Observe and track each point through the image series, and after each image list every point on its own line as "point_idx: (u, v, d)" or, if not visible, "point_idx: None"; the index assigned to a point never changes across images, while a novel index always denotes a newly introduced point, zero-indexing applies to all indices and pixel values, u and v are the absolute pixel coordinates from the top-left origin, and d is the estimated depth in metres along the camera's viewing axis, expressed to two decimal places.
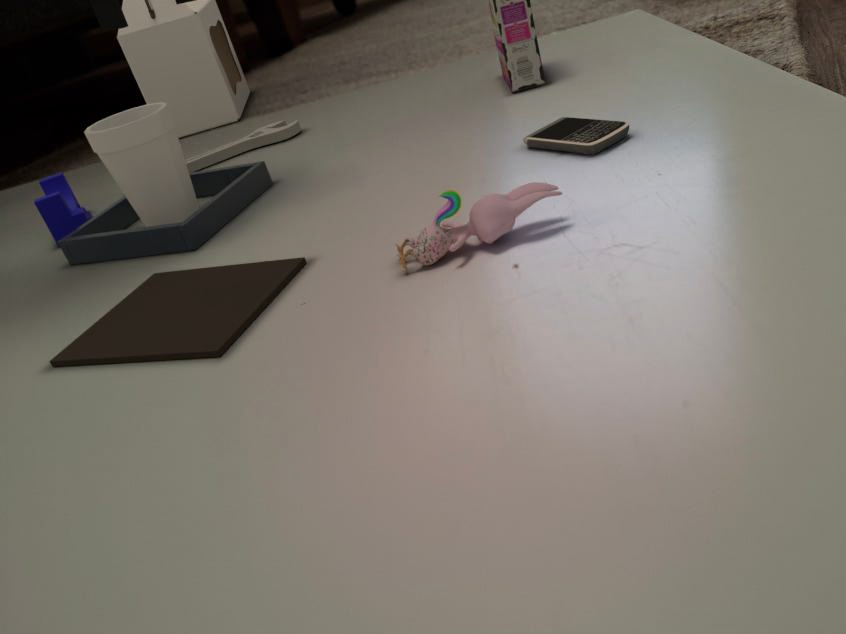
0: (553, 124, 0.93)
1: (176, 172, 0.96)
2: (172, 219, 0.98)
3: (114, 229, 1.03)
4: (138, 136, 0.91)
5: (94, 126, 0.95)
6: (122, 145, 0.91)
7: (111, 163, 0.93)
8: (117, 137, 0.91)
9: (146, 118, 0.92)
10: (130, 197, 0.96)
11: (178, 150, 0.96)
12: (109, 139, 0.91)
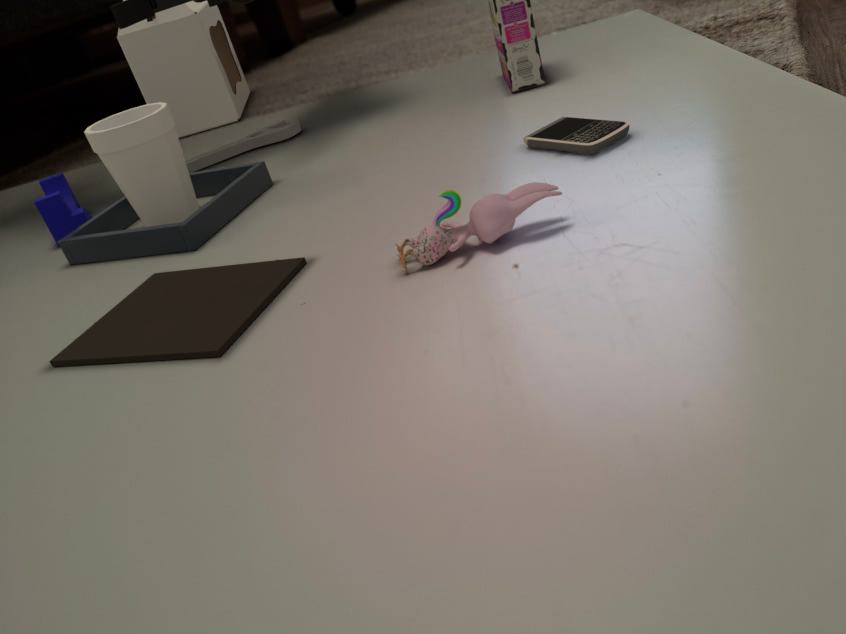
0: (553, 124, 0.92)
1: (176, 172, 0.96)
2: (172, 219, 0.98)
3: (114, 229, 1.03)
4: (138, 136, 0.91)
5: (94, 126, 0.95)
6: (122, 145, 0.91)
7: (111, 163, 0.93)
8: (117, 137, 0.91)
9: (146, 118, 0.91)
10: (130, 197, 0.96)
11: (178, 150, 0.96)
12: (109, 139, 0.91)
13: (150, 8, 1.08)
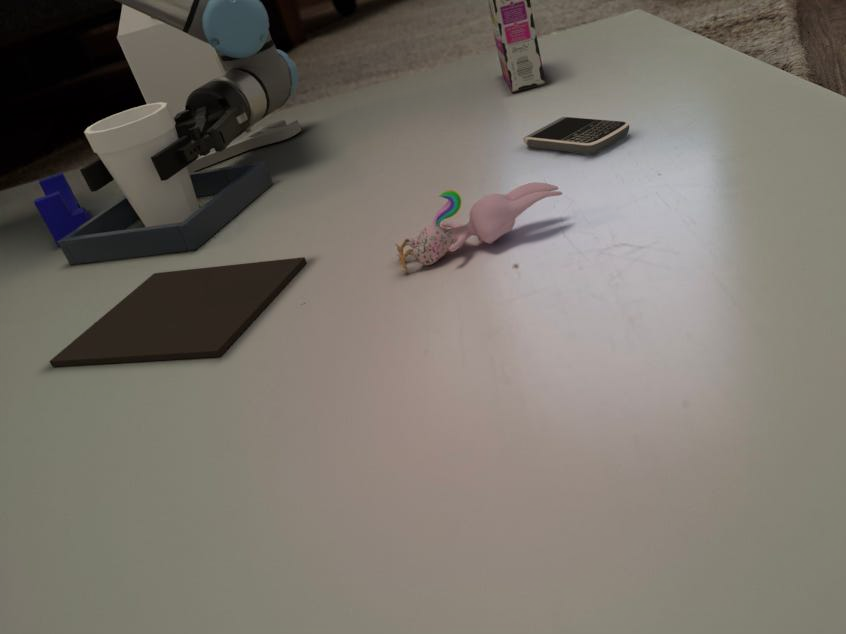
0: (553, 124, 0.92)
1: None
2: (172, 219, 0.98)
3: (114, 229, 1.03)
4: (138, 136, 0.91)
5: (94, 126, 0.95)
6: (122, 145, 0.91)
7: (111, 163, 0.93)
8: (117, 137, 0.91)
9: (146, 118, 0.91)
10: (130, 197, 0.96)
11: None
12: (109, 139, 0.91)
13: None
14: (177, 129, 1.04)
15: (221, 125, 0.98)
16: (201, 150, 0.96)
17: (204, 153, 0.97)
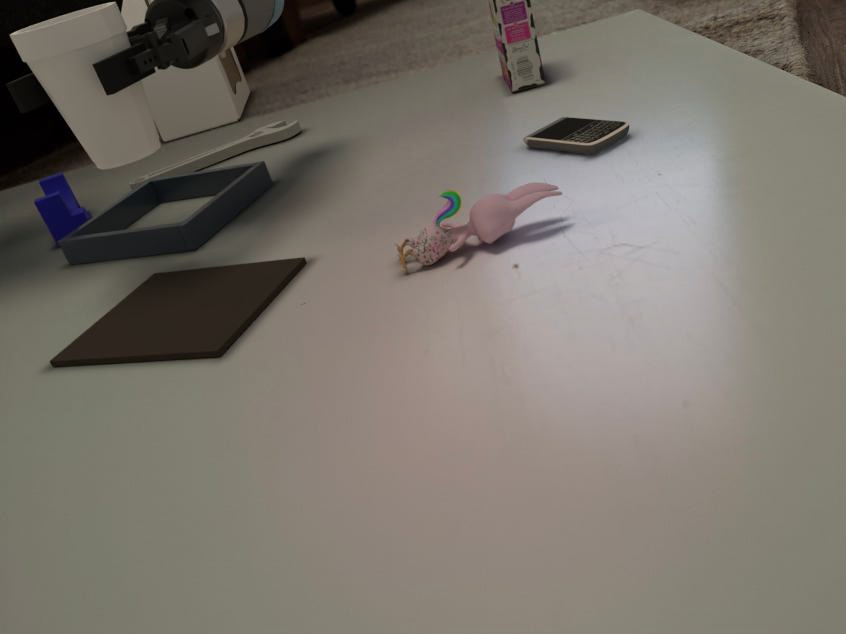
0: (553, 124, 0.93)
1: (127, 88, 0.77)
2: (124, 148, 0.78)
3: (114, 229, 1.03)
4: (77, 37, 0.72)
5: (24, 30, 0.76)
6: (57, 49, 0.72)
7: (44, 74, 0.74)
8: (50, 38, 0.72)
9: (87, 15, 0.72)
10: (70, 120, 0.77)
11: None
12: (40, 41, 0.72)
13: None
14: (133, 44, 0.85)
15: (184, 32, 0.78)
16: (159, 61, 0.77)
17: (163, 66, 0.78)
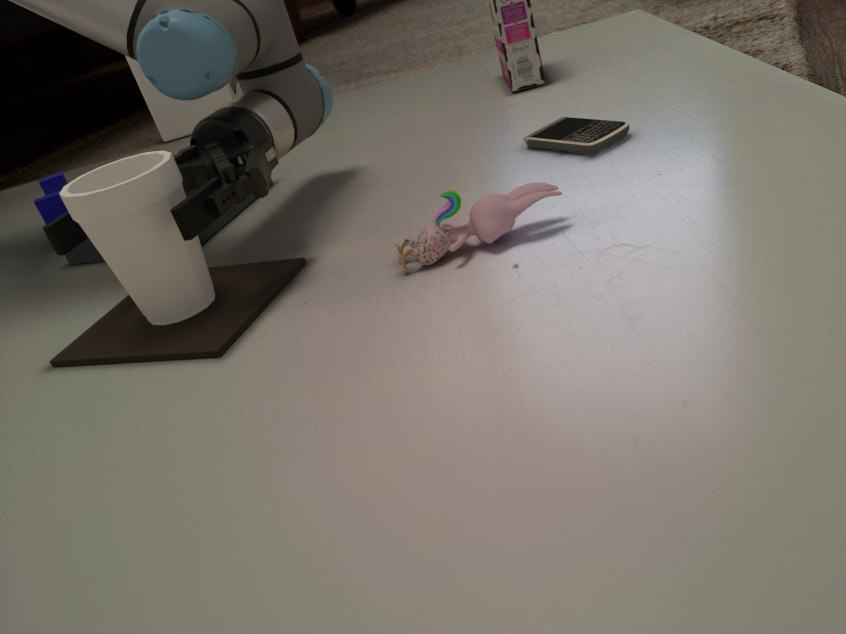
0: (553, 124, 0.93)
1: (183, 245, 0.72)
2: (178, 306, 0.73)
3: None
4: (133, 200, 0.67)
5: (74, 184, 0.71)
6: (111, 213, 0.67)
7: (96, 235, 0.69)
8: (104, 203, 0.67)
9: (143, 176, 0.67)
10: (122, 278, 0.72)
11: None
12: (93, 205, 0.67)
13: None
14: (180, 172, 0.79)
15: (259, 163, 0.73)
16: (237, 197, 0.72)
17: (242, 200, 0.73)
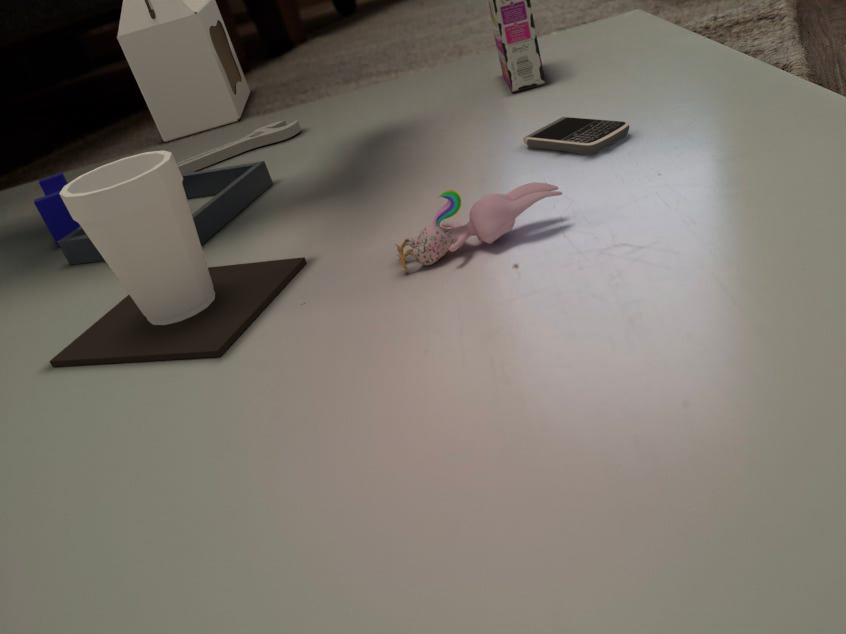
0: (553, 124, 0.93)
1: (183, 245, 0.72)
2: (178, 306, 0.73)
3: None
4: (133, 200, 0.67)
5: (74, 184, 0.71)
6: (111, 213, 0.67)
7: (96, 235, 0.69)
8: (104, 203, 0.67)
9: (144, 176, 0.67)
10: (122, 278, 0.72)
11: (186, 215, 0.72)
12: (93, 205, 0.67)
13: None
14: None
15: None
16: None
17: None
